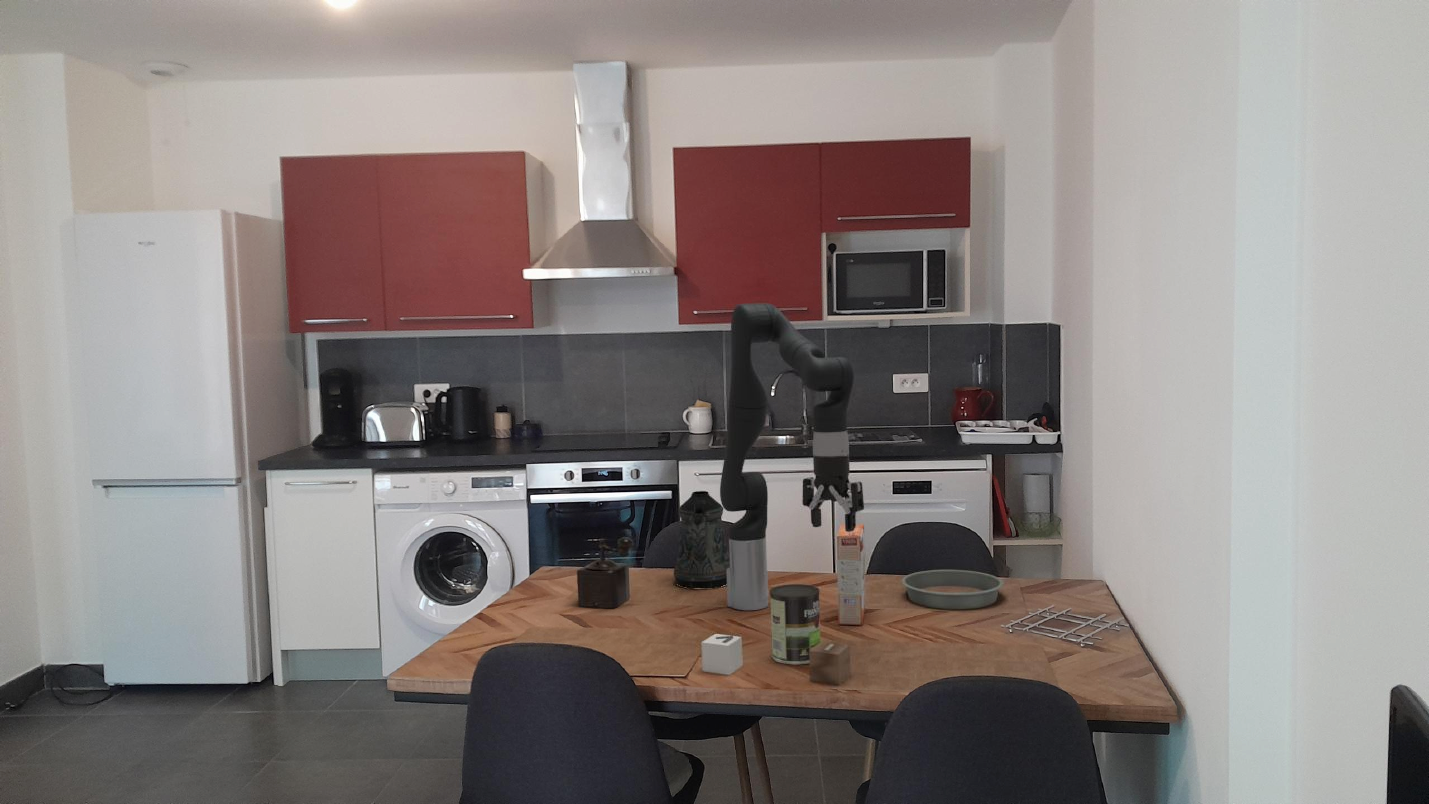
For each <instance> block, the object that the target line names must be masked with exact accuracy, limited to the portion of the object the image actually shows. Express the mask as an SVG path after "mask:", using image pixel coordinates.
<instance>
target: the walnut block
mask: <svg viewBox="0 0 1429 804" xmlns="http://www.w3.org/2000/svg"><path fill="white" fill-rule="evenodd" d="M848 675H850V676H851V652H850V645H849V644H845V643H844V644H842V643H834V642H826V641H820V643H818V644H817V645H816V646H815V647H813V648H812V649H811V650H809V680H810V681H809V682H817V683H821V684H822V683H823V684H828V683H832V684H831V685H835V684H840V683H841V682H842V683H844V681H845V680H847V679H848V678H847V676H848ZM846 678H847V679H846ZM844 679H845V680H844ZM843 680H844V681H843ZM842 683H841V684H842ZM841 684H840V685H841Z"/></svg>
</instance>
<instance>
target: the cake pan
mask: <svg viewBox="0 0 1429 804" xmlns="http://www.w3.org/2000/svg"><path fill="white" fill-rule="evenodd" d="M901 583H902V585H903V586H904V587H905V588H906V592H907V595H908V598H909V600H910V601H911V602H913V603H915V604H917V605H920V606H924V607H928V608H935V609H943V610H970V609H978V608H979V609H980V608H984V607H987V606H990V605H992V604H994V603H996V602H997V598H998V594H999V590H1000V589H1001V588H1003V586H1004V581H1003V580H1002V579H1001V578H1000V577H998V576H995V575H992V574H989V573H985V572H979V571H973V570H963V569H962V570H961V569H933V570H925V571H923V570H922V571H917V572H913V573H910V574H907V575H905V576H904V577H903V578H902V579H901ZM944 587H945V588H947V587H948V588H949V587H951V588H952V587H953V588H956V587H957V588H965V589H966V588H967V589H973V590H978V591H972V592H971V591H970V592H946V591H945V592H942V591H941V592H940V591H934V590H926V589H931V588H944Z"/></svg>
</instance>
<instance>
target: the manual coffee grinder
mask: <svg viewBox="0 0 1429 804" xmlns="http://www.w3.org/2000/svg"><path fill="white" fill-rule="evenodd" d="M599 543H600V544H599V548H600V558H599V559H596V560H594V561H593V562H590V563H589V564H587V565H585V566H583V567H581V568H579V569H577V570H576V581H577V597H578V599H577V600H578V601H577V602H578V605H577V606H578V607H579V608H589V607H590V608H591V609H600V608H601V609H615V607H616V608H618V607H621V606H622V605H623V604H625V603H626V602H628V601H629V600H630V599H629V598H631V595H630V594H631V593H630V568H629V567H630V566H629V563H623V562H619V563H618V562H615V561H614V560H611V559H609V558H606V557H605V550H606V551H610V552H613V553H617V554H618V555H619V556H621V557H622V558H626V557H629V556H630V550H631V548H633V546H634V542H633V539H631V538H630V537H628V536H623V537H621V538H619V539H618V541H617V545H618V547H619V549H618V548H614V547H609V546H607V545H606V543H605V539H604V538H600V539H599ZM628 599H629V600H628ZM627 600H628V601H627ZM624 602H625V603H624ZM621 604H622V605H621Z"/></svg>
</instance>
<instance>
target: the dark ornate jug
mask: <svg viewBox="0 0 1429 804" xmlns="http://www.w3.org/2000/svg"><path fill="white" fill-rule="evenodd" d="M677 513H678V516H679V518H680V529H679V537H678V549H677V557H676V564H675V566H674V569H673V571H672V572H673V573H672V574H673V577H674V580H675V584H678V585H680V586H682V587H687V588H715V587H721V586H723V585H726V584H727V568H729V567H730V561H729V549H728V546H727V541H726V535H725V531H724V525H723V522H722V521H723V520H722V516H723V513H724V507H723V506H722V503H719V502H718V501H717V500H716V499H714V498H713V497H712V496H711V495H710V493H709V492H708V491H706V490H699V491H698V490H697V491H692V493H691V496H690V497H689V498H688V499H687V500H686V501H684V502H683V503H681V505H680V506H679V508H678V510H677ZM721 588H722V587H721ZM715 589H716V588H715Z"/></svg>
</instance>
